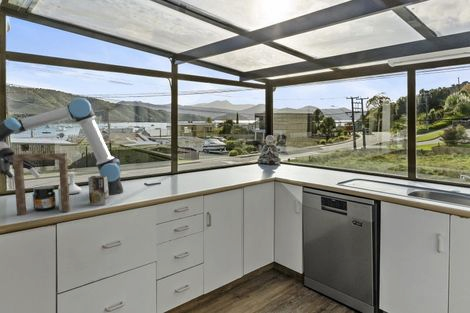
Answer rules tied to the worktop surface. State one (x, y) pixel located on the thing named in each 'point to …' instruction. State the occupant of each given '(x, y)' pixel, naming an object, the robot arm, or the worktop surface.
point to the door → (59, 198)
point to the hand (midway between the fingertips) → (28, 179)
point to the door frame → (20, 178)
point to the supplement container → (44, 198)
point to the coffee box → (98, 190)
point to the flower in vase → (72, 180)
